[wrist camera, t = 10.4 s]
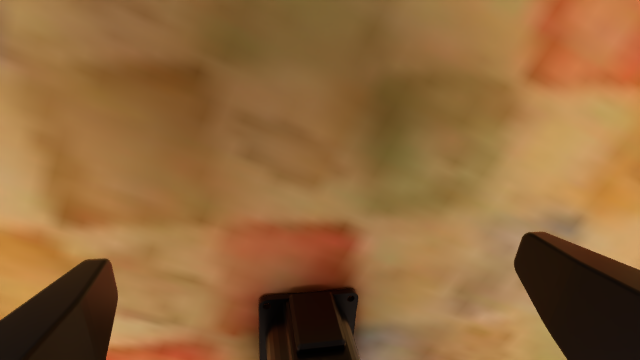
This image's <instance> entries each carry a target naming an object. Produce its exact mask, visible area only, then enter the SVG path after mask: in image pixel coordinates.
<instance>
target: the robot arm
mask: <svg viewBox="0 0 640 360" xmlns="http://www.w3.org/2000/svg"><path fill="white" fill-rule="evenodd" d="M514 267H515V271H516V273H517V275H518V277H519V278H520V280H521V282H522V284H523V286H524V288H525V289H526V291H527V293H528V295H529V297H530V299H531V301H532V302H533V304H534V306H535V308H536V310H537V312H538V314H539V315H540V317H541V319H542V321H543V323H544V324H545V326H546V328H547V329H548V331H549V333H550V334H551V336H552V337H553V339H554V340H555V342H556V343H557V345H558V346H559V348H560V349H561V351H562V352H563V354H564V355H565V357H566V358H567V360H640V270H638V269H636V268H633V267H631V266H628V265H626V264H623V263H621V262H618V261H616V260H613V259H611V258H608V257H606V256H603V255H601V254H598V253H596V252H593V251H591V250H588V249H586V248H583V247H581V246H578V245H576V244H573V243H571V242H568V241H566V240H563V239H561V238H558V237H556V236H553V235H551V234H548V233H546V232H528V233H526V234H525V235H524V236H523V237H522V239H521V242H520V245H519V248H518V251H517V254H516V257H515V260H514ZM349 296H351V297H349ZM117 301H118V292H117V287H116V282H115V278H114V273H113V269H112V265H111V262H110V261H109V260H108V259H105V258H104V259H88V260H84V261H83V262H81V263H80V264H78V265H77V266H76V267H74V268H73V269H71V270H70V271H69V272H67V273H66V274H64V275H63V276H62V277H60V278H59V279H57V280H56V281H55V282H53V283H52V284H50V285H49V286H48V287H46V288H45V289H43V290H42V291H41V292H39V293H38V294H36V295H35V296H34V297H32V298H31V299H29V300H28V301H27V302H25V303H24V304H22V305H21V306H20V307H18V308H17V309H15V310H14V311H13V312H11V313H10V314H8V315H7V316H6V317H4V318H3V319H1V320H0V360H106V356H107V351H108V346H109V341H110V336H111V331H112V327H113V322H114V317H115V312H116V307H117ZM265 303H269V304H267V305H265ZM357 303H358V295H357V292H356V291H355V290H354V289H340V290H328V291H317V292H305V293H293V294H281V295H269V296H263V297H262V298H260V300H259V359H260V360H360V357H359V354H358V351H357V347H356V344H355V341H354V338H353V333H354V326H355V318H356V310H357Z"/></svg>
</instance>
